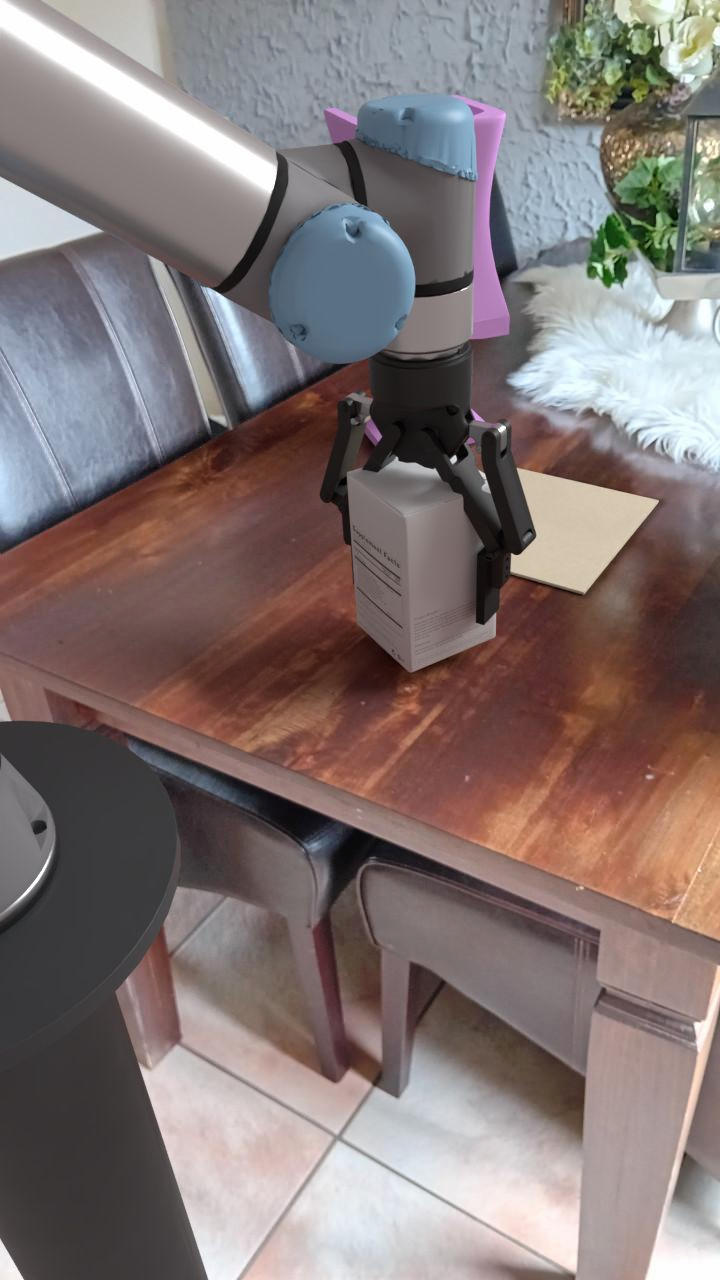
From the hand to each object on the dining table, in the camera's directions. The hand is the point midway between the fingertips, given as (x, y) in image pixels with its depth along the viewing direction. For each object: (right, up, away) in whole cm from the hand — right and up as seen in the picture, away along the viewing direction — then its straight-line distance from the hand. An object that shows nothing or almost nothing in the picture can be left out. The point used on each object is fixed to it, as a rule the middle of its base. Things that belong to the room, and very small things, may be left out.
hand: (424, 596), depth 84 cm
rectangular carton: (0, -3, +2) cm, 4 cm away
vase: (+2, +22, +40) cm, 46 cm away
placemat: (+13, +8, +19) cm, 24 cm away
